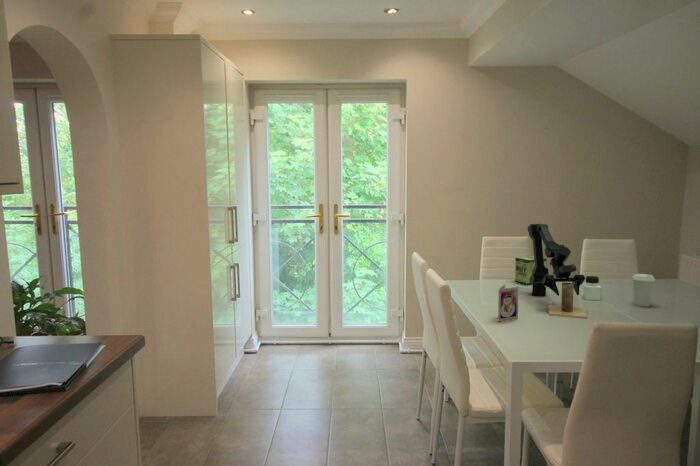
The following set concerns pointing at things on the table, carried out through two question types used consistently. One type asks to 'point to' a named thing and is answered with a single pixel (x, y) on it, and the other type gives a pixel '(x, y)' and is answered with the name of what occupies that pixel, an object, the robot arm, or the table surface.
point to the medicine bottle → (592, 288)
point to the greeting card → (508, 303)
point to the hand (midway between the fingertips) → (568, 295)
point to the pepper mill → (567, 297)
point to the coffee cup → (643, 289)
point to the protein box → (525, 269)
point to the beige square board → (576, 312)
